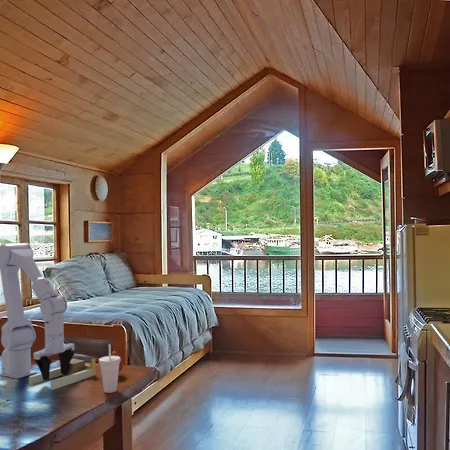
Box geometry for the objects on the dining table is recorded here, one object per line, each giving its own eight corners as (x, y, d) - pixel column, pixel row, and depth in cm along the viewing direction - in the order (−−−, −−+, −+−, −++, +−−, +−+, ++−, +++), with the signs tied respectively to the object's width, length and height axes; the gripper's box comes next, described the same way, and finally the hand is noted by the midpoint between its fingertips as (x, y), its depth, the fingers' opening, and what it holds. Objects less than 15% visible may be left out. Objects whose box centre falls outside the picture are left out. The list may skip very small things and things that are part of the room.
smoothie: (101, 395, 152) (100, 347, 152) (97, 389, 158) (96, 343, 158) (123, 392, 154) (122, 344, 154) (118, 386, 160) (117, 340, 160)
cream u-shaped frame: (29, 384, 165) (28, 364, 165) (72, 370, 179) (72, 352, 179) (53, 389, 159) (52, 369, 158) (96, 374, 173) (96, 356, 173)
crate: (62, 377, 172) (61, 361, 172) (74, 373, 176) (74, 358, 176) (72, 379, 169) (72, 363, 169) (85, 375, 173) (85, 360, 173)
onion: (119, 378, 168) (118, 354, 168) (102, 378, 169) (101, 353, 169) (126, 373, 174) (125, 349, 174) (109, 373, 175) (109, 349, 175)
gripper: (43, 340, 158) (44, 385, 158) (80, 331, 170) (81, 372, 170) (28, 337, 162) (29, 381, 162) (65, 329, 174) (66, 370, 174)
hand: (55, 377), depth 166 cm, fingers open, 7 cm apart
